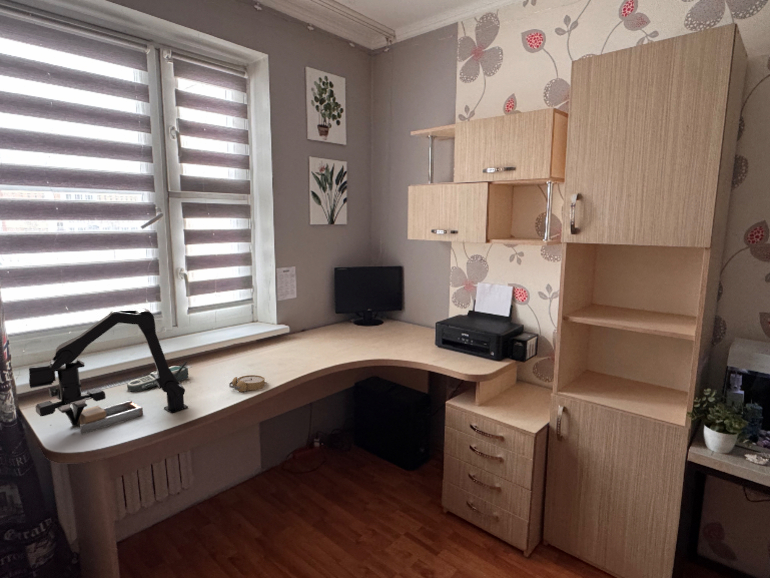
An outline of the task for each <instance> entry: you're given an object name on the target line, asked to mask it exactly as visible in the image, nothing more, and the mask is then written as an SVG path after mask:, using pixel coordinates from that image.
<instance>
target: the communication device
mask: <svg viewBox="0 0 770 578" xmlns="http://www.w3.org/2000/svg"><path fill="white" fill-rule="evenodd" d="M186 364H188V362H187V361H185V362H184V363H183V364H179V365H172V366H170V367H169V366H168V367H169V369H170V370H171V372H172V373H173V375H174V376H175V378H176V380H177V381H178V382H181V381H184V380H187V379H189V369H188V367H186ZM154 374H157V370H156V371H153V372H150V373H149V375H147V376H143V377H140V378H136V379H133V380H131V381H129V382H128V383H127V384H126V386H127V391H130V392H131V391H132V392H133V393H134V392H135V393H136V392H142V391H146V390H148V389H152V388H154V387H158V385H157V381H156V379H155V377H154ZM132 392H131V393H132Z"/></svg>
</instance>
